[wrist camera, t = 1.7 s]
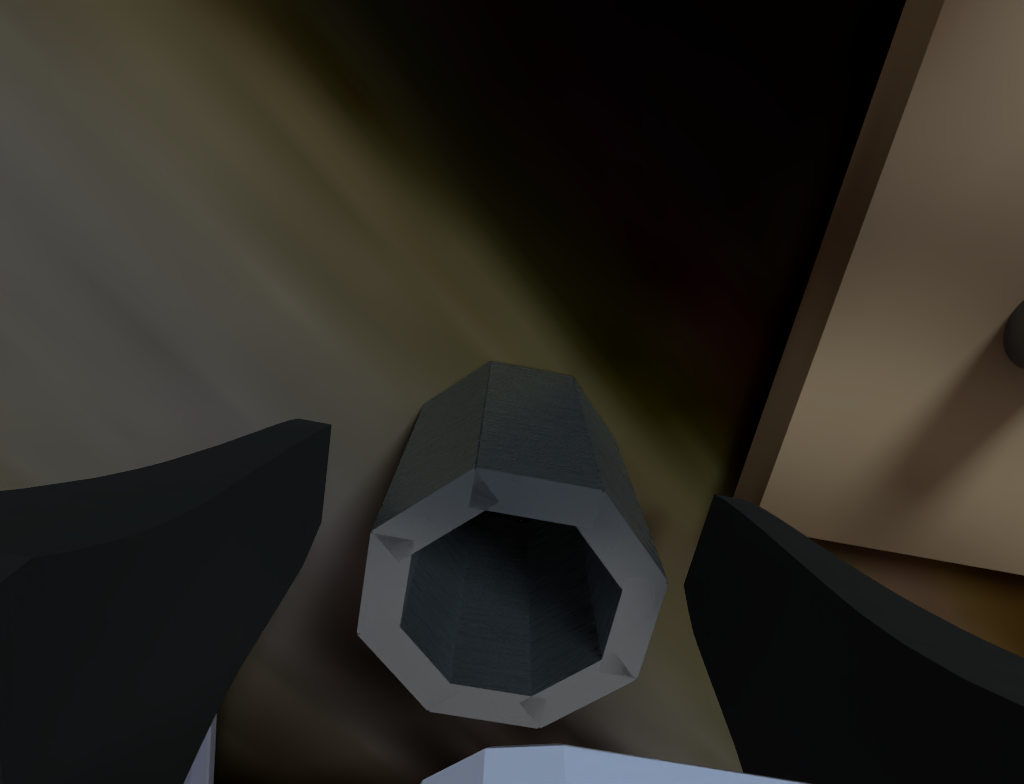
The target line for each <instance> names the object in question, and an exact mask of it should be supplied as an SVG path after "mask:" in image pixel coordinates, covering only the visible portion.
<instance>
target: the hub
mask: <svg viewBox="0 0 1024 784" xmlns="http://www.w3.org/2000/svg"><path fill="white" fill-rule="evenodd" d="M485 510H487V511H492V512H498V513H504V514H510V515H515V516H521V517H527V518H532V520H531V521H529V522H527V523H526V522H520V521H514V520H509V519H503V518H497V517H491V516H486V515H480V513H482V512H483V511H485ZM667 586H668V580H667V578H666V575H665V572H664V569H663V567H662V564H661V561H660V559H659V556H658V553H657V551H656V548H655V545H654V543H653V540H652V537H651V534H650V532H649V529H648V526H647V524H646V521H645V518H644V516H643V513H642V510H641V507H640V505H639V502H638V499H637V497H636V494H635V491H634V489H633V486H632V483H631V481H630V478H629V475H628V472H627V470H626V467H625V464H624V462H623V459H622V456H621V454H620V451H619V448H618V446H617V443H616V440H615V438H614V437H613V435H612V434H611V432H610V431H609V429H608V428H607V426H606V425H605V423H604V422H603V420H602V419H601V418H600V416H599V415H598V413H597V412H596V410H595V409H594V407H593V406H592V404H591V403H590V401H589V400H588V398H587V397H586V395H585V394H584V392H583V391H582V389H581V388H580V386H579V385H578V383H577V382H576V380H575V379H574V378H573V377H572V376H568V375H563V374H558V373H552V372H547V371H542V370H537V369H531V368H526V367H521V366H515V365H510V364H505V363H499V362H494V361H491V362H488V363H487V364H485V365H483V366H482V367H480V368H479V369H477V370H476V371H474V372H473V373H471V374H470V375H468V376H467V377H465V378H464V379H462V380H460V381H459V382H457V383H456V384H454V385H453V386H451V387H450V388H448V389H447V390H445V391H444V392H442V393H441V394H439V395H437V396H436V397H434V398H433V399H431V400H430V401H428V402H427V403H425V404H424V405H423V407H422V410H421V412H420V414H419V417H418V419H417V422H416V424H415V426H414V429H413V431H412V434H411V436H410V439H409V441H408V443H407V446H406V448H405V451H404V453H403V455H402V458H401V460H400V463H399V465H398V468H397V470H396V472H395V475H394V477H393V480H392V482H391V484H390V487H389V489H388V492H387V494H386V497H385V499H384V501H383V504H382V506H381V509H380V511H379V513H378V516H377V518H376V521H375V523H374V526H373V528H372V530H371V533H370V540H369V547H368V555H367V562H366V569H365V577H364V584H363V591H362V599H361V606H360V613H359V620H358V628H357V633H358V636H359V637H360V638H361V639H362V640H363V641H364V642H365V644H366V645H367V646H368V647H369V648H370V649H371V650H372V651H373V652H374V653H375V654H376V656H377V657H378V658H379V659H380V660H381V661H382V662H383V663H384V664H385V665H386V666H387V667H388V669H389V670H390V671H391V672H392V673H393V674H394V675H395V676H396V677H397V678H398V679H399V681H400V682H401V683H402V684H403V685H404V686H405V687H406V688H407V689H408V690H409V691H410V693H411V694H412V695H413V696H414V697H415V698H416V699H417V700H418V701H419V702H420V703H421V704H422V706H423V707H424V708H425V709H426V710H429V709H430V710H429V712H435V713H441V714H447V715H454V716H460V717H466V718H473V719H479V720H486V721H492V722H498V723H505V724H511V725H518V726H524V727H530V728H537V729H538V727H540V728H542V727H544V726H546V725H548V724H550V723H552V722H554V721H556V720H558V719H560V718H562V717H564V716H566V715H568V714H570V713H572V712H574V711H576V710H578V709H580V708H582V707H584V706H586V705H588V704H590V703H592V702H594V701H595V700H597V699H599V698H601V697H603V696H605V695H607V694H609V693H611V692H613V691H615V690H617V689H619V688H621V687H623V686H625V685H627V684H629V683H631V682H633V681H635V680H636V678H638V675H639V672H640V669H641V666H642V663H643V660H644V657H645V654H646V651H647V648H648V644H649V641H650V638H651V635H652V632H653V629H654V626H655V623H656V620H657V617H658V614H659V611H660V608H661V605H662V602H663V599H664V596H665V592H666V589H667Z"/></svg>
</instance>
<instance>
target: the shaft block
mask: <svg viewBox="0 0 1024 784" xmlns="http://www.w3.org/2000/svg"><path fill="white" fill-rule="evenodd" d="M733 498H738V499H743V500H747V501H749V502H752V503H754V504H756V505H758V506H760V507H761V508H763V509H765V510H767V511H768V512H770V513H771V514H773V515H775V516H776V517H778V518H779V519H781V520H783V521H784V522H786V523H787V524H789V525H790V526H792V527H793V528H795V529H796V530H798V531H799V532H801V533H802V534H804V535H805V536H807V537H811V538H816V539H822V540H828V541H833V542H839V543H844V544H850V545H856V546H861V547H867V548H873V549H878V550H884V551H889V552H895V553H901V554H906V555H912V556H918V557H923V558H929V559H935V560H940V561H946V562H951V563H957V564H963V565H968V566H974V567H980V568H985V569H991V570H997V571H1002V572H1008V573H1013V574H1019V575H1024V0H906V3H905V6H904V9H903V11H902V14H901V17H900V20H899V23H898V26H897V29H896V32H895V34H894V37H893V40H892V43H891V46H890V49H889V52H888V54H887V57H886V60H885V63H884V66H883V69H882V72H881V75H880V77H879V80H878V83H877V86H876V89H875V92H874V95H873V97H872V100H871V103H870V106H869V109H868V112H867V115H866V118H865V120H864V123H863V126H862V129H861V132H860V135H859V138H858V141H857V143H856V146H855V149H854V152H853V155H852V158H851V161H850V163H849V166H848V169H847V172H846V175H845V178H844V181H843V184H842V186H841V189H840V192H839V195H838V198H837V201H836V204H835V206H834V209H833V212H832V215H831V218H830V221H829V224H828V227H827V229H826V232H825V235H824V238H823V241H822V244H821V247H820V250H819V252H818V255H817V258H816V261H815V264H814V267H813V270H812V272H811V275H810V278H809V281H808V284H807V287H806V290H805V293H804V295H803V298H802V301H801V304H800V307H799V310H798V313H797V316H796V318H795V321H794V324H793V327H792V330H791V333H790V336H789V338H788V341H787V344H786V347H785V350H784V353H783V356H782V359H781V361H780V364H779V367H778V370H777V373H776V376H775V379H774V381H773V384H772V387H771V390H770V393H769V396H768V399H767V402H766V404H765V407H764V410H763V413H762V416H761V419H760V422H759V425H758V427H757V430H756V433H755V436H754V439H753V442H752V445H751V447H750V450H749V453H748V456H747V459H746V462H745V465H744V468H743V470H742V473H741V476H740V479H739V482H738V485H737V488H736V491H735V493H734V496H733Z"/></svg>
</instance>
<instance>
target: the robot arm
mask: <svg viewBox="0 0 1024 784" xmlns="http://www.w3.org/2000/svg"><path fill="white" fill-rule="evenodd" d="M330 435H331V425H330V424H325V423H319V422H314V421H308V420H303V419H294V420H289V421H286V422H283V423H280V424H277V425H274V426H271V427H268V428H265V429H263V430H260V431H257V432H254V433H252V434H249V435H246V436H243V437H240V438H238V439H235V440H232V441H229V442H226V443H224V444H221V445H218V446H215V447H212V448H208V449H205V450H202V451H199V452H196V453H192V454H189V455H186V456H183V457H180V458H176V459H173V460H170V461H167V462H163V463H159V464H155V465H151V466H147V467H143V468H139V469H135V470H130V471H126V472H121V473H117V474H112V475H107V476H102V477H97V478H92V479H85V480H78V481H72V482H65V483H58V484H51V485H45V486H38V487H31V488H24V489H16V490H6V491H0V784H213V783H214V762H215V742H216V721H217V711H218V709H219V707H220V705H221V703H222V701H223V699H224V697H225V695H226V693H227V691H228V689H229V687H230V685H231V683H232V682H233V680H234V678H235V676H236V674H237V673H238V671H239V669H240V667H241V665H242V664H243V662H244V661H245V659H246V657H247V656H248V654H249V652H250V651H251V649H252V648H253V646H254V644H255V643H256V641H257V640H258V638H259V636H260V635H261V633H262V631H263V630H264V628H265V627H266V625H267V623H268V622H269V620H270V618H271V617H272V615H273V614H274V612H275V610H276V609H277V607H278V606H279V604H280V602H281V601H282V599H283V597H284V596H285V594H286V592H287V591H288V589H289V587H290V586H291V584H292V583H293V581H294V579H295V578H296V576H297V574H298V573H299V571H300V569H301V567H302V566H303V563H304V561H305V559H306V557H307V555H308V552H309V550H310V548H311V546H312V543H313V541H314V538H315V536H316V534H317V531H318V529H319V526H320V524H321V521H322V511H323V501H324V492H325V482H326V473H327V463H328V454H329V444H330ZM684 589H685V594H686V600H687V605H688V611H689V615H690V620H691V624H692V629H693V633H694V636H695V639H696V642H697V644H698V647H699V650H700V653H701V656H702V658H703V661H704V664H705V667H706V669H707V672H708V675H709V678H710V680H711V683H712V686H713V688H714V691H715V694H716V696H717V699H718V702H719V704H720V707H721V710H722V713H723V715H724V718H725V721H726V723H727V726H728V729H729V731H730V734H731V737H732V739H733V742H734V745H735V748H736V751H737V754H738V757H739V760H740V763H741V766H742V770H743V773H742V772H735V771H729V770H723V769H717V768H710V767H704V766H698V765H691V764H685V763H679V762H672V761H666V760H660V759H653V758H647V757H641V756H635V755H628V754H622V753H616V752H609V751H603V750H597V749H591V748H584V747H578V746H572V745H565V744H535V745H511V746H491V747H488V748H485V749H483V750H481V751H479V752H477V753H475V754H473V755H471V756H469V757H467V758H465V759H463V760H461V761H459V762H458V763H456V764H454V765H452V766H450V767H448V768H446V769H444V770H442V771H440V772H438V773H436V774H434V775H432V776H430V777H428V778H426V779H424V780H422V782H421V784H1024V658H1022V657H1020V656H1018V655H1016V654H1013V653H1011V652H1009V651H1007V650H1005V649H1002V648H1000V647H998V646H996V645H994V644H991V643H989V642H987V641H985V640H983V639H981V638H979V637H977V636H975V635H973V634H971V633H969V632H966V631H964V630H962V629H960V628H958V627H957V626H955V625H953V624H951V623H949V622H947V621H945V620H943V619H941V618H940V617H938V616H936V615H934V614H932V613H930V612H928V611H926V610H925V609H923V608H921V607H919V606H917V605H915V604H913V603H912V602H910V601H908V600H906V599H905V598H903V597H901V596H899V595H898V594H896V593H894V592H893V591H891V590H889V589H888V588H886V587H884V586H883V585H881V584H879V583H878V582H876V581H875V580H873V579H871V578H870V577H868V576H866V575H865V574H863V573H861V572H860V571H858V570H857V569H855V568H854V567H852V566H851V565H849V564H847V563H846V562H844V561H843V560H841V559H840V558H838V557H837V556H835V555H834V554H832V553H831V552H829V551H828V550H826V549H825V548H823V547H822V546H820V545H819V544H817V543H816V542H814V541H813V540H811V539H810V538H808V537H807V536H805V535H804V534H802V533H801V532H799V531H798V530H796V529H795V528H793V527H792V526H790V525H789V524H787V523H786V522H784V521H783V520H781V519H779V518H778V517H776V516H775V515H773V514H771V513H770V512H768V511H767V510H765V509H763V508H761V507H760V506H758V505H756V504H754V503H752V502H749V501H747V500H743V499H738V498H732V497H727V496H721V495H716V494H714V497H713V500H712V503H711V506H710V509H709V512H708V515H707V518H706V521H705V524H704V527H703V529H702V532H701V535H700V538H699V541H698V544H697V547H696V550H695V553H694V556H693V559H692V562H691V565H690V568H689V571H688V574H687V577H686V580H685V583H684Z"/></svg>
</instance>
